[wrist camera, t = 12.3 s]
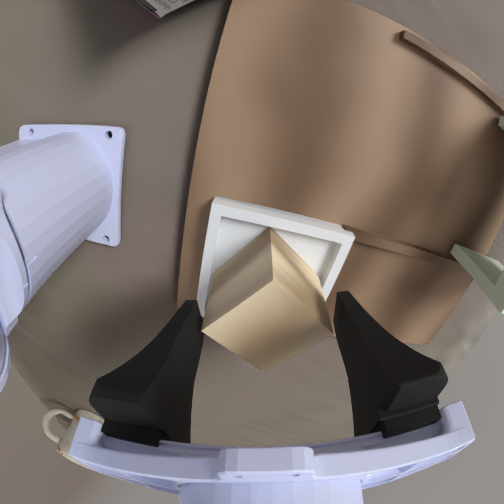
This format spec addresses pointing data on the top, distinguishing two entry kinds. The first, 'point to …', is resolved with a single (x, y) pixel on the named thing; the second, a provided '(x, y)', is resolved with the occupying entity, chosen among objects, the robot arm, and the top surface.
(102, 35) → the top surface
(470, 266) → the hood
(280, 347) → the block
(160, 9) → the candy bar box
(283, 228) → the tray
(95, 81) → the top surface
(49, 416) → the mug
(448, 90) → the puzzle board
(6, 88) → the top surface
